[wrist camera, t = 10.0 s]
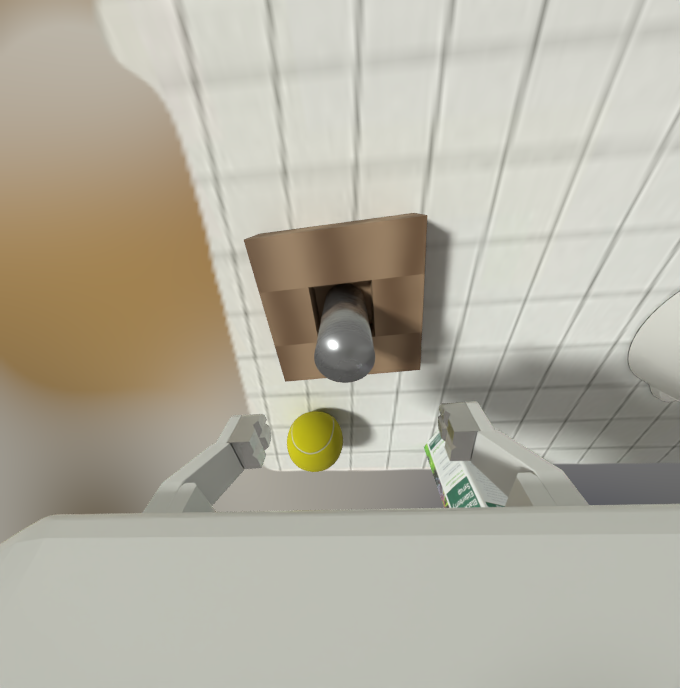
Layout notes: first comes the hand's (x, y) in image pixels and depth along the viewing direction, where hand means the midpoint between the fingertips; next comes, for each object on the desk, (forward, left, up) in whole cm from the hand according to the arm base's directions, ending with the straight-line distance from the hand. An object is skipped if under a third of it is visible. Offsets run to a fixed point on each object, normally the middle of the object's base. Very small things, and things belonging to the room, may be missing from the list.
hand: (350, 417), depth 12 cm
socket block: (0, 0, -16) cm, 16 cm away
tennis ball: (+6, +17, -17) cm, 24 cm away
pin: (0, 0, -15) cm, 15 cm away
